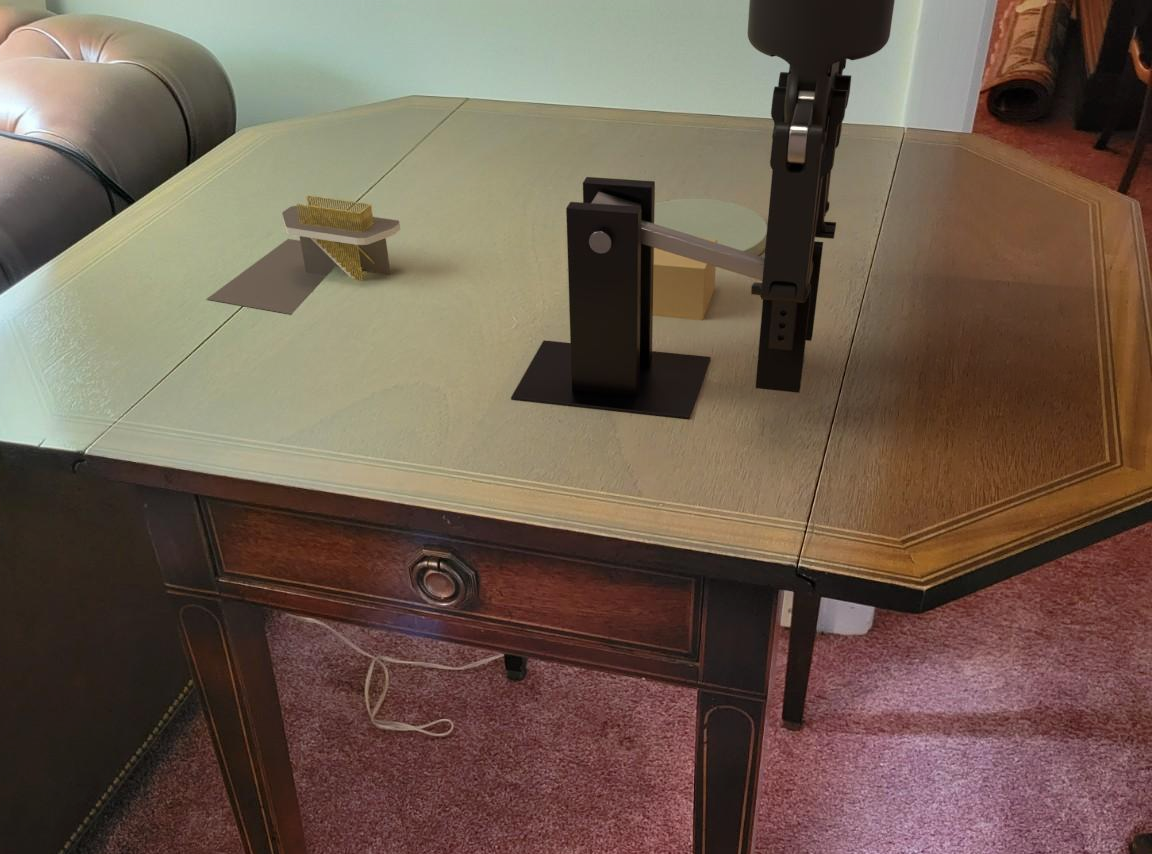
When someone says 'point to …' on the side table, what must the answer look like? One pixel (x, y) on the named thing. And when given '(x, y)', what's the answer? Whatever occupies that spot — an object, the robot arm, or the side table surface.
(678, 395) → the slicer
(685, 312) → the cake slice
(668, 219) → the plate
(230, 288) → the platform
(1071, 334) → the side table surface
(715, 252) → the blade
